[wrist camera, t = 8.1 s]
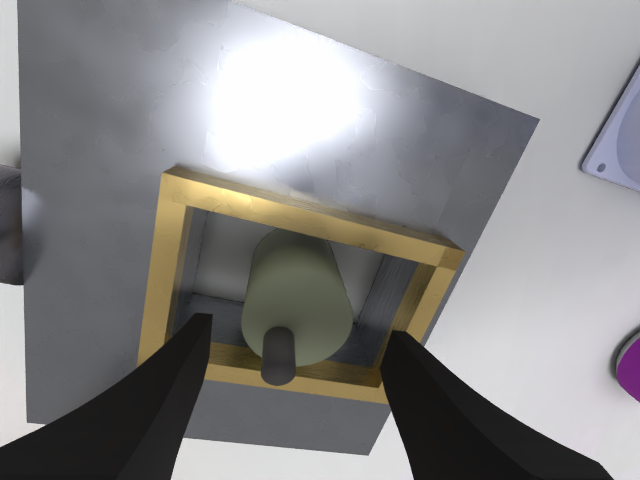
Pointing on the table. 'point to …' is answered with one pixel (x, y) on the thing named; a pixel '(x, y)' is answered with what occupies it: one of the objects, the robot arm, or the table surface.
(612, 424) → the table surface
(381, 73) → the grey panel with frame
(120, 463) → the robot arm
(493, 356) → the table surface
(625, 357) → the beverage can
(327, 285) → the spout can
